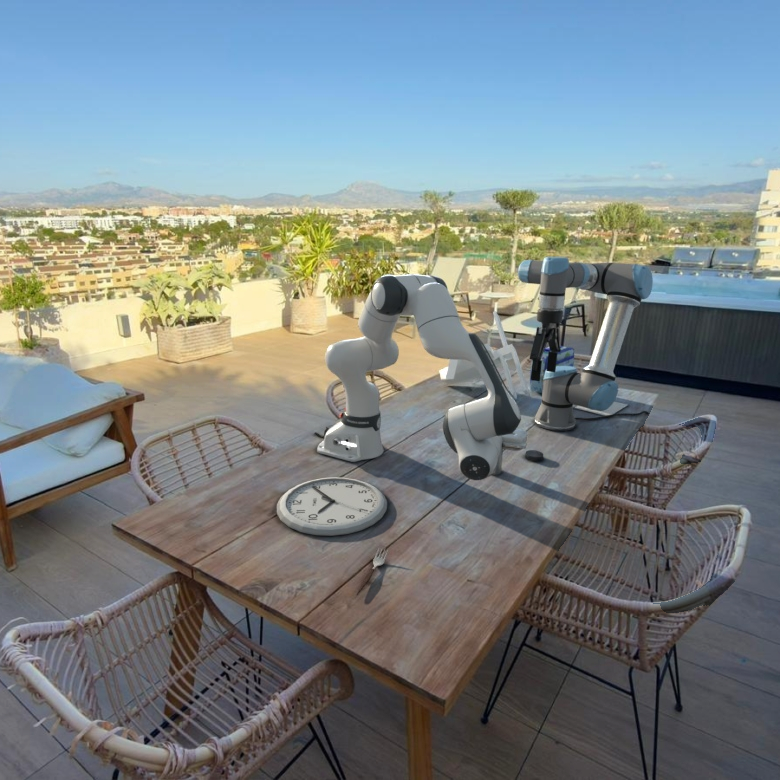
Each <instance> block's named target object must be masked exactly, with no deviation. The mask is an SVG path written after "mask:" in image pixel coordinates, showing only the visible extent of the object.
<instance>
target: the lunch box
mask: <svg viewBox="0 0 780 780" xmlns="http://www.w3.org/2000/svg"><path fill="white" fill-rule="evenodd" d="M560 349H561V352H557V353H558V354H557V362H556V366H572V367H574V363H575V348H573V347H571V346H570V347H568V346H563V345H561V348H560ZM549 351H550V348H549V346H548V347H545V350H544V352H543V355H542V358H541V360H542V366H541V375H540V381H534V380H531V372H530V374H529V391H532V392H536V393H540V394H542V391H543V381H544V380H543V378H544V374H545V371H546V369H547V362H548V353H549ZM536 356H537V355H536ZM531 370H532V361H531V363H530V371H531Z"/></svg>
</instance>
